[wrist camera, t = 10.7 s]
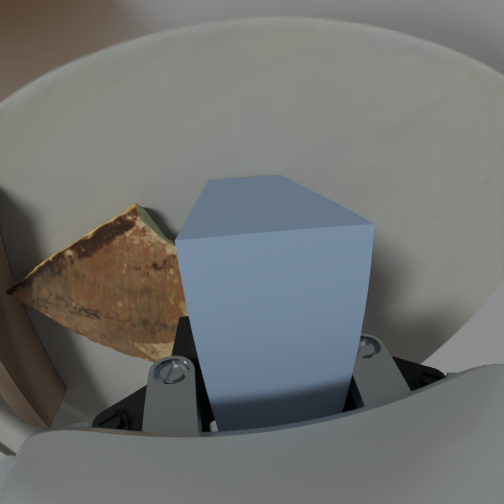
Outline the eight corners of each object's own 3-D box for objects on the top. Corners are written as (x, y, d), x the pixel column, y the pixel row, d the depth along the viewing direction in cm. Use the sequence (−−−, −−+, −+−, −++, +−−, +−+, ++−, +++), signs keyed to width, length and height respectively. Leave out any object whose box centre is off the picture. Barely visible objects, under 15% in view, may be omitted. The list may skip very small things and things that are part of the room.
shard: (17, 281, 12) (2, 295, 10) (36, 156, 10) (15, 158, 8) (174, 354, 15) (171, 376, 13) (228, 236, 13) (229, 249, 11)
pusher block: (231, 364, 15) (240, 493, 7) (208, 180, 11) (175, 240, 4) (283, 358, 15) (317, 482, 8) (279, 175, 11) (374, 223, 4)
